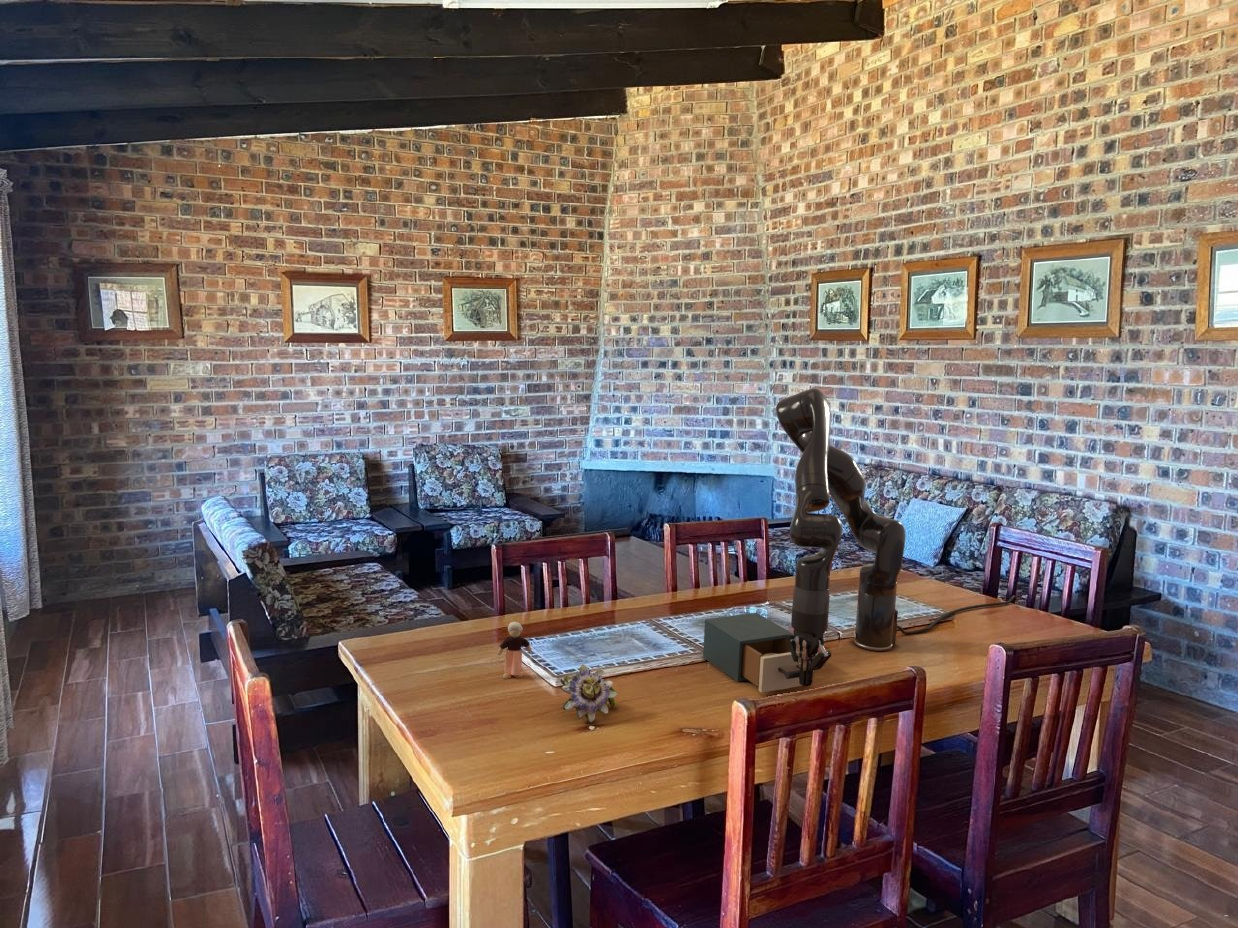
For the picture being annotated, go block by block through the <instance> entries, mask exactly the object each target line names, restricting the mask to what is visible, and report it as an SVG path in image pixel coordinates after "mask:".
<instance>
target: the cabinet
mask: <svg viewBox="0 0 1238 928" xmlns="http://www.w3.org/2000/svg"><path fill="white" fill-rule="evenodd" d="M790 634H793V633H792V632H790V631H788V629H786V627H785V628H784V627H783V626H781V625H779V624H777V623H776V622H775V621H772V620H770V619H768V618H767V617H765V616H763V615H761V613H760V614H759V613H757V612H750V613H744V614H736V615H735V614H734V615H726V616H719V617H711V618H705V619H704V630H703V648H702V649H703V650H702V651H703V653H702V658H704V659H705V660H706V661H708V662H709V663H710V664H712V665H713V666H714V667H715V668H718V669H719V670H720V671H722V673H724V674H726V675H727V676H728V677H730V678H731V679H732V680H734V681H736V682H737V683H740V682H745V681H749V680H748V679H746V678H745V677H743V676H742V675H741V664H742V646H743V644H748V643H755V642H761V641H768V640H775V639H782V638H786V636H787V635H790Z"/></svg>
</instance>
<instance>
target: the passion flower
mask: <svg viewBox="0 0 1238 928" xmlns="http://www.w3.org/2000/svg"><path fill="white" fill-rule="evenodd" d="M604 673H605V672H604V669H602V668H600V669H599V670H596V671H595V672H592V671H591V669H588V667H587V665H585V664H583V663H582V664H581V665H580V666H579V671H578V672H576V674H575V675H572V676H571V675H567V674H565V675H564V676H563V678H564V679H563V678H560V681H559V682H560V683H561V685H562V686H560V689H561V690H562V691H563V692H565V693H566V694H569V698H568V699H567V700H566V701H565V702H564V703H563V705H562V710H564V711H568V710H571V709H573V708H574V709H575V714H576V717H577V719H578V720H581V719H582V718H583V717H585V718H586V719H587V721H588V722H589V723H593V722H594V721H595V718H596V713H597V712H598V711H599V712H601V714H604V715H607V714H609V707H608V704H609V706H611V708H612V709H614V708H615V706H616V700H615V698H617V696H618V692H616V690H615V689H614V687H613V685H614V682H613V681H612V680H606V679H604V678H603V676H604ZM569 680H570V681H569Z"/></svg>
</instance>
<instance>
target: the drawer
mask: <svg viewBox="0 0 1238 928" xmlns="http://www.w3.org/2000/svg"><path fill="white" fill-rule="evenodd" d="M768 653H776V655H769V656H763V655H764V654H768ZM799 670H800V668H799V667H798V663H797V662H794V660H793V658H792V655H791V652H790V649H789V645H788V642H787V639H786V638H782V639H775V640H768V641H761V642H755V643H748V644H743V646H742V664H741V675H742V676H743V677H745V678H746V679H748V680H747V681H748V682H751V683H752V684H753V685H754V686H756V687H758V692H760V693H761V694H763V693H767V692H768V693H769V692H774V691H780V690H785V689H792V688H798V687H803V686H802V685H800V684H799Z"/></svg>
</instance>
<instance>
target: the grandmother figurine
mask: <svg viewBox="0 0 1238 928" xmlns="http://www.w3.org/2000/svg"><path fill="white" fill-rule="evenodd" d="M507 632H508V635H509V636H507V637H505V639H504V640H503V641H502V642H501V643H500V644H499V648H498V650H497V652H496V655H498V656H500V655H502V653H503V651H504V650H505V649H506V652H505V657H504V658H505V659H504V671H503V672H504V673H503V675H502V679H508V680H509V679H511V678H512V676H513V677H514V678H517V679H519V678H522V677H523V673H522V665H523V649H522V647H524V648H525V649H526V651H527V652H528V653H531V652H532V651H533V650H532V649H533V648H532V647H531V644H530V643H531V642H530V641H528V640H527V639H526V638H525V637H522V636H520V635H521V633H522V632H523V626H522V624H521V623H519V622H518V621H516V620H515V621H511V622H509V624H508V626H507Z"/></svg>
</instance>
